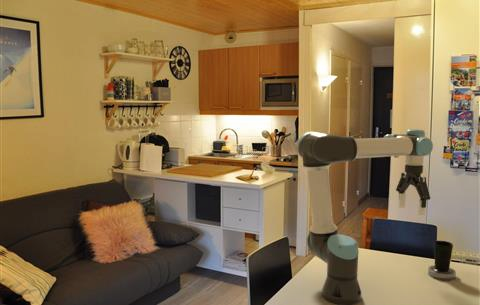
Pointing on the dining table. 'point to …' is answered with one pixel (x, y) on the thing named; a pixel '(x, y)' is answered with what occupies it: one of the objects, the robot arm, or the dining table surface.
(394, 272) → the dining table surface
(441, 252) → the cup
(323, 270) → the dining table surface
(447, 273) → the grey metal bowl
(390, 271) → the dining table surface
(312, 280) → the dining table surface
